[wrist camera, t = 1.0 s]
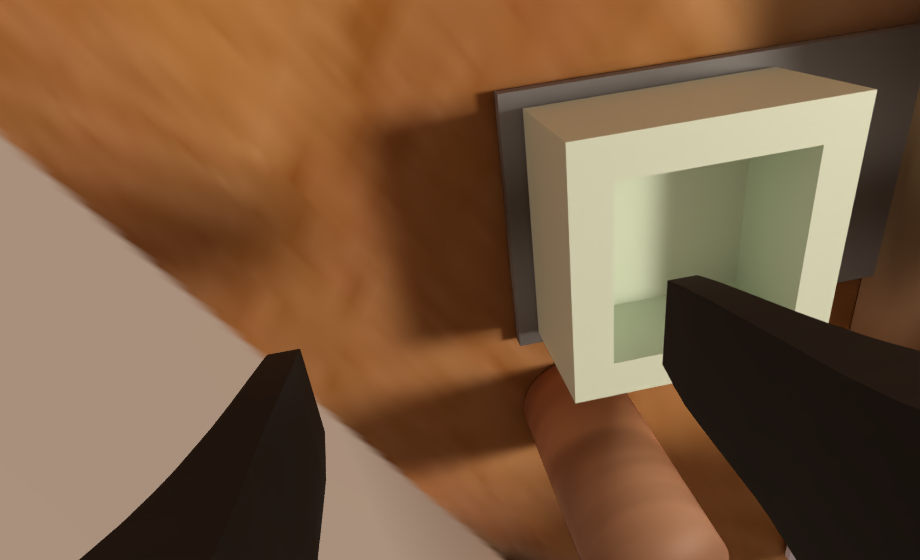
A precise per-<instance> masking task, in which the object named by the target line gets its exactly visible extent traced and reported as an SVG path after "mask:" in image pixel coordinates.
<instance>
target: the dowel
mask: <svg viewBox="0 0 920 560" xmlns="http://www.w3.org/2000/svg"><path fill="white" fill-rule="evenodd" d="M523 410H524V415H525V418H526V421H527V423H528V426H529V428H530V431H531V433H532V436H533V439H534V441H535V444H536V446H537V449H538V452H539V454H540V457H541V459H542V462H543V464H544V467H545V470H546V472H547V475H548V477H549V480H550V483H551V485H552V488H553V490H554V493H555V495H556V498H557V501H558V503H559V506H560V508H561V511H562V514H563V516H564V519H565V521H566V524H567V526H568V529H569V532H570V534H571V537H572V539H573V542H574V545H575V547H576V550H577V552H578V555H579V557H580V560H729V553H728V549H727V547H726V545H725V544H724V542H723V541H722V539H721V537H720V536H719V534H718V533H717V531H716V530H715V528H714V527H713V525H712V524H711V522H710V521H709V519H708V518H707V516H706V514H705V513H704V511H703V510H702V508H701V507H700V505H699V504H698V502H697V501H696V499H695V498H694V496H693V494H692V493H691V491H690V490H689V488H688V487H687V485H686V484H685V482H684V481H683V479H682V478H681V476H680V474H679V473H678V471H677V470H676V468H675V467H674V465H673V464H672V462H671V461H670V459H669V458H668V456H667V454H666V453H665V451H664V450H663V448H662V447H661V445H660V444H659V442H658V441H657V439H656V438H655V436H654V435H653V433H652V431H651V430H650V428H649V427H648V425H647V424H646V422H645V421H644V419H643V418H642V416H641V415H640V413H639V411H638V410H637V408H636V407H635V405H634V404H633V402H632V401H631V399H630V398H629V396H628V395H627V393H623V394H619V395H614V396H609V397H604V398H599V399H595V400H590V401H585V402H580V403H575V401H574V400H573V398H572V396H571V394H570V392H569V390H568V388H567V386H566V384H565V382H564V380H563V378H562V376H561V374H560V372H559V371H558V369H557V367H556V365H554V366H552V367H550V368H549V369H547V370H546V371H544V372H543V373H542V374H540V375H539V376H538V377H537V378H536V379H535V380H534V382H533V383H532V384H531V386H530V387H529V389H528V391H527V393H526V395H525V399H524V404H523Z"/></svg>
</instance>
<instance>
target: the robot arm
mask: <svg viewBox="0 0 920 560" xmlns="http://www.w3.org/2000/svg"><path fill="white" fill-rule="evenodd" d="M662 365H663V367H664V369H665V370H666V372H667V374H668V376H669V378H670V380H671V382H672V383H673V385H674V387H675V389H676V391H677V392H678V394H679V396H680V397H681V399H682V401H683V402H684V404H685V406H686V407H687V409H688V410H689V411H690V413H691V414H692V415H693V417H694V418H695V419H696V421H697V422H698V423H699V425H700V426H701V427H702V429H703V430H704V431H705V433H706V434H707V435H708V436H709V438H710V439H711V440H712V442H713V443H714V444H715V446H716V447H717V448H718V449H719V451H720V452H721V453H722V455H723V456H724V457H725V458H726V460H727V461H728V462H729V464H730V465H731V466H732V468H733V469H734V470H735V471H736V473H737V474H738V475H739V477H740V478H741V479H742V480H743V482H744V483H745V484H746V486H747V487H748V488H749V490H750V491H751V492H752V493H753V495H754V496H755V497H756V499H757V500H758V502H759V503H760V504H761V506H762V507H763V509H764V510H765V512H766V513H767V514H768V516H769V517H770V519H771V520H772V522H773V524H774V525H775V527H776V528H777V530H778V532H779V533H780V535H781V536H782V538H783V540H784V541H785V543H786V544H787V548H786V552H785V557H786V558H787V559H788V560H920V351H919V350H915V349H911V348H907V347H904V346H900V345H896V344H892V343H889V342H886V341H882V340H879V339H875V338H872V337H869V336H866V335H863V334H860V333H857V332H854V331H851V330H848V329H845V328H842V327H839V326H836V325H833V324H830V323H827V322H824V321H821V320H818V319H816V318H813V317H810V316H807V315H805V314H802V313H799V312H796V311H794V310H791V309H789V308H786V307H783V306H781V305H778V304H776V303H773V302H770V301H768V300H765V299H763V298H760V297H758V296H755V295H752V294H750V293H747V292H745V291H742V290H740V289H737V288H734V287H732V286H729V285H726V284H724V283H721V282H718V281H715V280H712V279H709V278H706V277H702V276H699V275H694V276H689V277H684V278H678V279H673V280H668V281H667V297H666V313H665V329H664V345H663V361H662ZM325 484H326V456H325V431H324V428H323V425H322V421H321V418H320V414H319V411H318V407H317V404H316V401H315V397H314V394H313V391H312V387H311V384H310V381H309V377H308V374H307V371H306V367H305V364H304V360H303V357H302V354H301V350H300V349H296V350H291V351H286V352H280V353H275V354H269V355H267V356H266V357H265V358H264V360H263V361H262V362H261V364H260V365H259V366H258V367H257V369H256V370H255V371H254V373H253V374H252V376H251V377H250V378H249V379H248V381H247V382H246V384H245V385H244V386H243V387H242V389H241V390H240V391H239V393H238V394H237V395H236V397H235V398H234V399H233V401H232V402H231V404H230V405H229V406H228V407H227V409H226V410H225V411H224V413H223V414H222V415H221V416H220V418H219V419H218V420H217V421H216V423H215V424H214V425H213V427H212V428H211V429H210V430H209V431H208V433H207V434H206V435H205V436H204V437H203V438H202V440H201V441H200V442H199V443H198V444H197V445H196V446H195V448H194V449H193V450H192V451H191V452H190V453H189V455H188V456H187V457H186V458H185V459H184V460H183V462H182V463H181V464H180V465H179V466H178V467H177V468H176V470H175V471H174V472H173V473H172V474H171V475H170V476H169V477H168V478H167V479H166V480H165V481H164V482H163V483H162V484H161V485H160V486H159V487H158V488H157V489H156V491H155V492H154V493H153V494H151V496H149V498H147V499H146V500H145V501H144V502H143V503H142V504H141V505H140V506H139V507H138V508H137V509H136V510H135V511H134V512H133V513H132V514H131V515H130V516H129V517H128V518H127V519H126V520H125V521H123V522H122V523H121V524H120V525H119V526H118V527H117V528H116V529H115V530H113V531H112V532H111V533H110V534H109V535H108V536H106V537H105V538H104V539H103V540H102V541H100V542H99V543H98V544H97V545H96V546H95V547H94V548H92V549H91V550H90V551H89V552H88V553H87V554H86V555H84V556H83V557H82V558H81V559H80V560H318V551H319V541H320V533H321V523H322V514H323V503H324V494H325Z"/></svg>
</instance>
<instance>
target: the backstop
mask: <svg viewBox="0 0 920 560" xmlns="http://www.w3.org/2000/svg"><path fill="white" fill-rule="evenodd" d="M771 67H779V68H783V69H788V70H793V71H797V72H802V73H806V74H811V75H815V76H820V77H824V78H829V79H833V80H838V81H842V82H847V83H851V84H856V85H860V86H865V87H869V88H874V89H877V94H876V98H875V103H874V108H873V113H872V118H871V122H870V127H869V132H868V137H867V141H866V146H865V151H864V156H863V161H862V165H861V170H860V175H859V180H858V184H857V189H856V194H855V199H854V203H853V208H852V213H851V218H850V223H849V227H848V232H847V237H846V242H845V246H844V251H843V256H842V261H841V266H840V270H839V275H838V280H837V283H840V282H845V281H850V280H855V279H860V278H862V280H861V284H860V289H859V293H858V297H857V301H856V306H855V310H854V314H853V319H852V323H851V327H850V330H851V331H854V332H857V333H860V334H863V335H866V336H869V337H872V338H875V339H879V340H882V341H886V342H889V343H892V344H896V345H900V346H904V347H907V348H911V349H915V350H919V351H920V23H914V24H907V25H901V26H895V27H889V28H883V29H876V30H870V31H864V32H858V33H852V34H845V35H839V36H833V37H827V38H821V39H814V40H808V41H802V42H796V43H790V44H783V45H777V46H771V47H765V48H759V49H753V50H746V51H740V52H734V53H728V54H722V55H715V56H709V57H703V58H697V59H691V60H684V61H678V62H672V63H666V64H660V65H653V66H647V67H641V68H635V69H629V70H622V71H616V72H610V73H604V74H598V75H592V76H585V77H579V78H573V79H567V80H561V81H554V82H548V83H542V84H536V85H530V86H523V87H517V88H511V89H505V90H499V91H494V99H495V110H496V121H497V131H498V142H499V153H500V163H501V174H502V185H503V195H504V206H505V217H506V227H507V238H508V249H509V259H510V270H511V281H512V291H513V302H514V313H515V323H516V334H517V340H518V342H519V344H520V346H523V345H528V344H533V343H538V342H543V340H542V338H541V336H540V334H539V328H538V315H537V301H536V287H535V273H534V259H533V245H532V231H531V217H530V203H529V189H528V175H527V161H526V147H525V133H524V120H523V108H528V107H534V106H541V105H547V104H553V103H559V102H565V101H571V100H577V99H583V98H589V97H595V96H601V95H607V94H613V93H619V92H626V91H632V90H638V89H644V88H650V87H656V86H662V85H668V84H674V83H680V82H686V81H692V80H698V79H705V78H711V77H717V76H723V75H729V74H735V73H741V72H747V71H753V70H759V69H765V68H771Z"/></svg>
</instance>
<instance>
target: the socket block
mask: <svg viewBox="0 0 920 560" xmlns="http://www.w3.org/2000/svg"><path fill="white" fill-rule="evenodd" d="M876 94H877V89H874V88H869V87H865V86H860V85H856V84H851V83H847V82H842V81H838V80H833V79H829V78H824V77H820V76H815V75H811V74H806V73H802V72H797V71H793V70H788V69H783V68H779V67H771V68H765V69H759V70H753V71H747V72H741V73H735V74H729V75H723V76H717V77H711V78H705V79H698V80H692V81H686V82H680V83H674V84H668V85H662V86H656V87H650V88H644V89H638V90H632V91H626V92H619V93H613V94H607V95H601V96H595V97H589V98H583V99H577V100H571V101H565V102H559V103H553V104H547V105H541V106H534V107H528V108H523V120H524V133H525V147H526V161H527V175H528V189H529V203H530V217H531V231H532V245H533V259H534V273H535V287H536V301H537V315H538V328H539V334H540V336H541V338H542V340H543V342H544V343H545V345H546V347H547V349H548V351H549V353H550V355H551V357H552V359H553V361H554V363H555V365H556V367H557V369H558V371H559V372H560V374H561V376H562V378H563V380H564V382H565V384H566V386H567V388H568V390H569V392H570V394H571V396H572V398H573V400H574V401H575V403H580V402H585V401H590V400H595V399H599V398H604V397H609V396H614V395H619V394H623V393H628V392H633V391H638V390H643V389H647V388H652V387H657V386H662V385H667V384H671V383H672V382H671V380H670V378H669V376H668V374H667V372H666V370H665V369H664V367H663V365H662V361H663V345H664V329H665V313H666V297H667V281H668V280H673V279H678V278H684V277H689V276H694V275H699V276H702V277H706V278H709V279H712V280H715V281H718V282H721V283H724V284H726V285H729V286H732V287H734V288H737V289H740V290H742V291H745V292H747V293H750V294H752V295H755V296H758V297H760V298H763V299H765V300H768V301H770V302H773V303H776V304H778V305H781V306H783V307H786V308H789V309H791V310H794V311H796V312H799V313H802V314H805V315H807V316H810V317H813V318H816V319H818V320H821V321H824V322H827V323H829V318H830V313H831V308H832V304H833V299H834V294H835V289H836V285H837V280H838V275H839V270H840V266H841V261H842V256H843V251H844V246H845V242H846V237H847V232H848V227H849V223H850V218H851V213H852V208H853V203H854V199H855V194H856V189H857V184H858V180H859V175H860V170H861V165H862V161H863V156H864V151H865V146H866V141H867V137H868V132H869V127H870V122H871V118H872V113H873V108H874V103H875V98H876Z"/></svg>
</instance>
